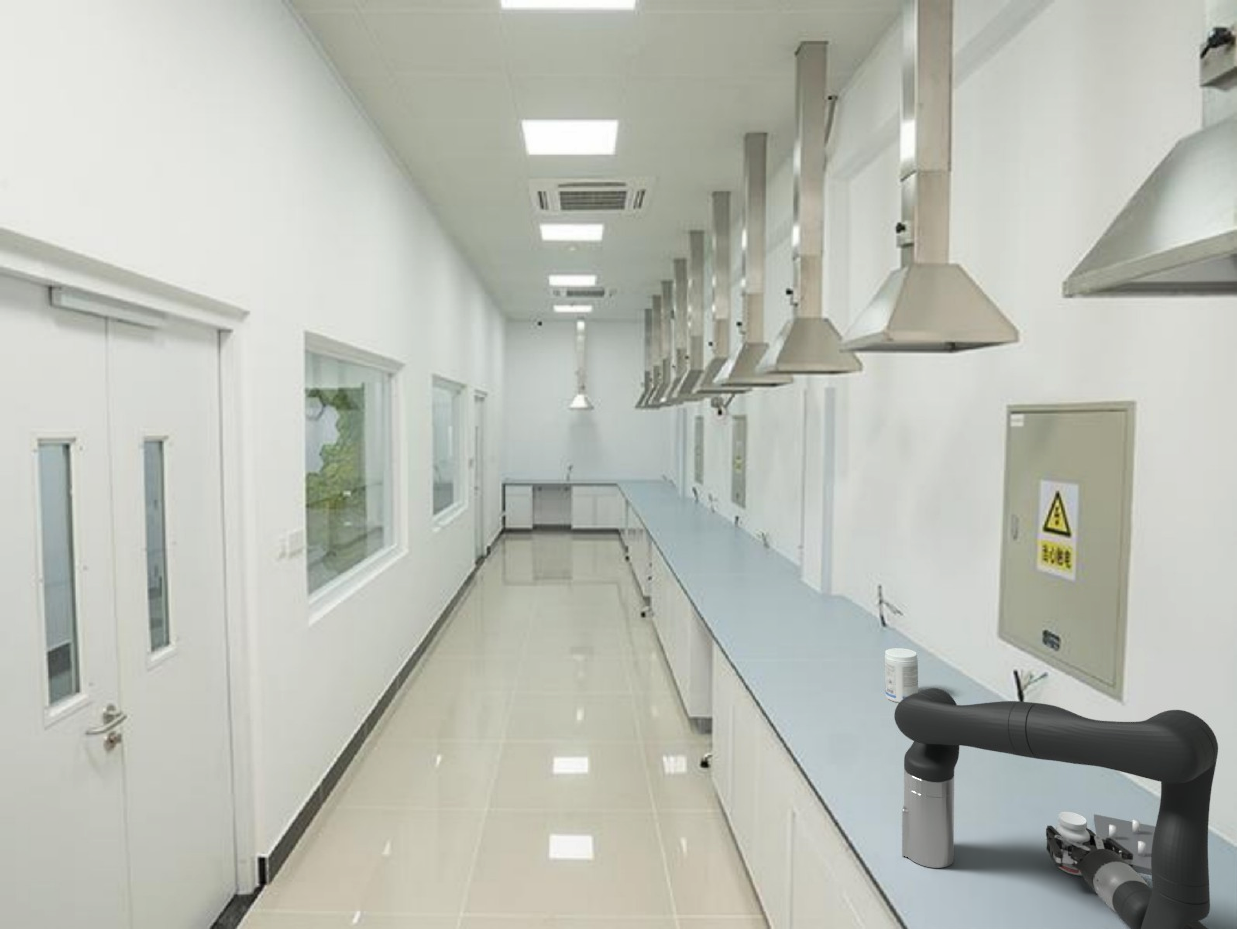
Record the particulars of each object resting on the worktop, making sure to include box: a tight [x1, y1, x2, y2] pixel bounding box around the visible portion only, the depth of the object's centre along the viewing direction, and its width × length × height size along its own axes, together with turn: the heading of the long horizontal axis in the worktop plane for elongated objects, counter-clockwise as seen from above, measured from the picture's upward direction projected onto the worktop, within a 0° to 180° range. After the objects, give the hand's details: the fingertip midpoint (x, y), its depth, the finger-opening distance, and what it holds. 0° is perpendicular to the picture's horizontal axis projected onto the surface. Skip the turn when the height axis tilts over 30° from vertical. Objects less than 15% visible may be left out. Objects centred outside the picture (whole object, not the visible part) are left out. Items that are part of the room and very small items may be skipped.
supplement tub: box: [884, 647, 919, 704], centre depth 231 cm, size 10×10×15 cm
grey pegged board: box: [1093, 813, 1156, 876], centre depth 149 cm, size 14×18×4 cm
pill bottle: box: [1055, 811, 1090, 876], centre depth 144 cm, size 6×6×10 cm
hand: (1065, 830), depth 146 cm, fingers closed on pill bottle, 5 cm apart
